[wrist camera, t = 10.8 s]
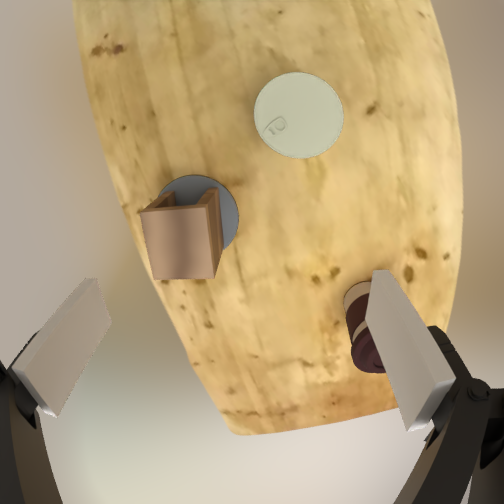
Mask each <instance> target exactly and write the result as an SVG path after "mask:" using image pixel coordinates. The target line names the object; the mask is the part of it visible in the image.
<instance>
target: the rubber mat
mask: <svg viewBox="0 0 504 504" xmlns="http://www.w3.org/2000/svg"><path fill="white" fill-rule="evenodd" d="M214 187H218V188H219V198H220V209H221V219H222V228H223V238H224V248H223V250H224V249H225V248H226V247H227V246H228V245H229V244H230V243H231V242H232V240H233V238H234V236H235V234H236V231H237V228H238V221H239V215H238V209H237V205H236V203H235V200H234V198H233V197H232V195H231V194H230V192H229V191H228V190H227V189H226V188H225V187H224V186H223V185H222V184H220V183H219V182H217V181H215V180H213V179H211V178H209V177H205V176H200V175H189V176H184V177H181V178H178V179H176V180H174V181H173V182H171V183H170V184H168V185H167V186H166V187H165V188H164V189H163V190H162V192H161V193H160V195H162V194H163V193H164V192H166V191H174V193H175V200H176V206H186V205H196V204H197V203H198V201H199V200H200V199H201V197H202V196H203V195H204V193H205V192H206V191H207V189H208V188H214ZM160 195H159V196H160ZM159 196H158V197H159Z"/></svg>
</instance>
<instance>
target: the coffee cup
mask: <svg viewBox="0 0 504 504" xmlns="http://www.w3.org/2000/svg"><path fill="white" fill-rule="evenodd" d="M370 289H371V282H362V283H359V284H356V285H355V286H353V287H352V288H351V289H350V290H349V291H348V292H347V293H346V295H345V298H344V309H345V313H346V322H347V327H348V331H349V335H350V340H351V344H352V347H351V356H352V359H353V362H354V364H355V366H356V367H357V368H358V369H360V370H361V371H364V372H367V373H386V370H385V368H384V365H383V363H382V360H381V357H380V355H379V352H378V350H377V347H376V345H375V342H374V340H373V337H372V335H371V332H370V330H369V328H368V325H367V323H366V320H365V317H366V311H367V306H368V300H369V295H370Z"/></svg>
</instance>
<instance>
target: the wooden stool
mask: <svg viewBox="0 0 504 504" xmlns="http://www.w3.org/2000/svg"><path fill="white" fill-rule="evenodd" d="M140 217H141V223H142V228H143V233H144V238H145V243H146V247H147V252H148V256H149V261H150V265H151V270H152V274H153V278H154V280H162V279H214V278H215V274H216V271H217V268H218V264H219V261H220V258H221V254H222V251H223V248H224V238H223V228H222V219H221V209H220V198H219V188H218V187H214V188H208V189H207V191H206V192H205V193H204V195H203V196H202V197H201V199H200V200H199V201H198V203H197V204H196V205H186V206H176V200H175V193H174V191H166V192H164V193H163V194H162V195H160V196H159V197H158V198H157V199H156V200H154V201H153V202H152V203H151V204H149V205H148V206H147V207H146V208H145V209H143V210H142V211H141V212H140Z"/></svg>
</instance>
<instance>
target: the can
mask: <svg viewBox="0 0 504 504" xmlns="http://www.w3.org/2000/svg"><path fill="white" fill-rule="evenodd" d="M343 121H344V113H343V107H342V103H341V101H340V99H339V97H338V95H337V93H336V92H335V90H334V89H333V88H332V87H331V86H330V85H329V84H328V83H327V82H325V81H324V80H322V79H321V78H319V77H317V76H314V75H312V74H308V73H303V72H291V73H286V74H282V75H280V76H277V77H275V78H274V79H272V80H271V81H269V82H268V83H267V84H266V85H265V86H264V87H263V88H262V90H261V91H260V93H259V94H258V96H257V99H256V102H255V106H254V122H255V126H256V129H257V131H258V133H259V135H260V137H261V138H262V140H263V141H264V142H265V143H266V144H267V145H268V146H269V147H270V148H271V149H273V150H274V151H276V152H278V153H279V154H282V155H284V156H287V157H291V158H310V157H314V156H317V155H319V154H321V153H323V152H325V151H326V150H328V149H329V148H330V147H331V146H332V145H333V144H334V143H335V142H336V140H337V139H338V137H339V135H340V133H341V130H342V127H343Z"/></svg>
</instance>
